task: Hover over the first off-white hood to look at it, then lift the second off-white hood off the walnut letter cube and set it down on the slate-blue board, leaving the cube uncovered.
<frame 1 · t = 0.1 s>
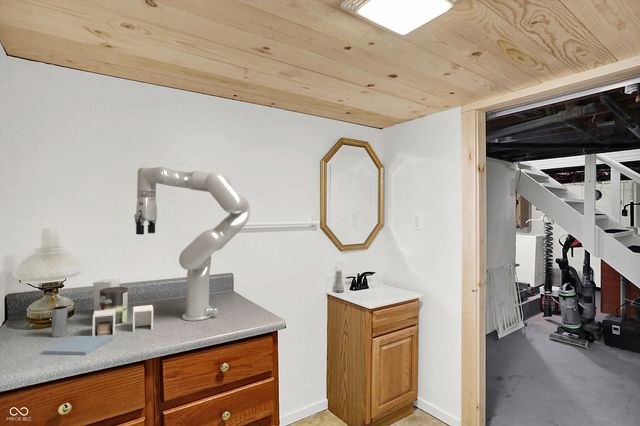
hand: (145, 233, 154), 37 cm above the counter, tool pointing down, fingers open, 9 cm apart
planter: (59, 335, 128), on the counter
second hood: (104, 333, 131), on the counter
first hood: (142, 327, 138), on the counter
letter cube: (104, 328, 131), in the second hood
coffee can: (113, 323, 143), on the counter
slate board: (79, 346, 118), on the counter
skincare box: (106, 315, 154), on the counter
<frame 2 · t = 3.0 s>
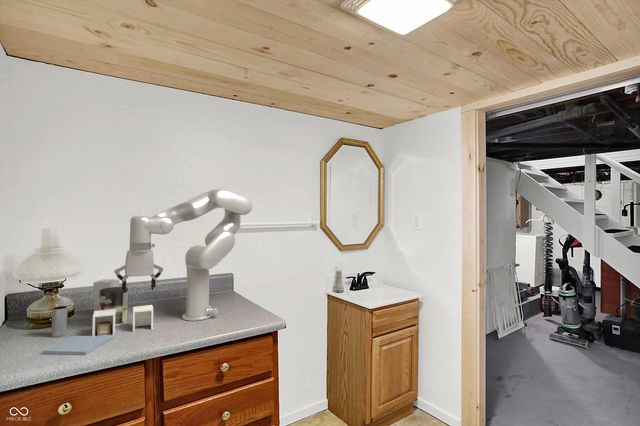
hand: (138, 290, 137), 15 cm above the counter, tool pointing down, fingers open, 9 cm apart
nothing on the counter moved.
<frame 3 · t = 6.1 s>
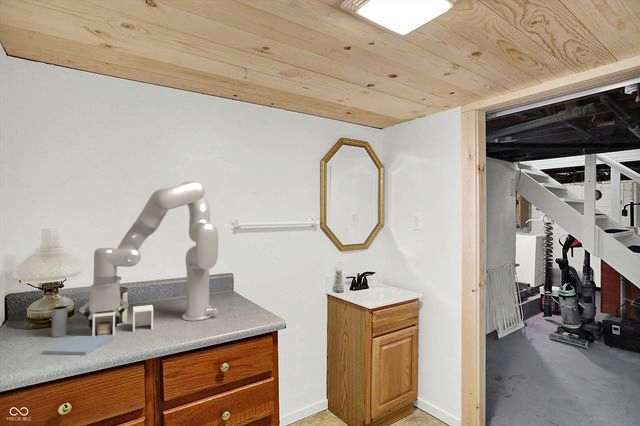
hand: (104, 327, 131), 2 cm above the counter, tool pointing down, fingers closed on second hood, 7 cm apart
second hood: (104, 333, 131), on the counter, touching gripper
everything else where it was.
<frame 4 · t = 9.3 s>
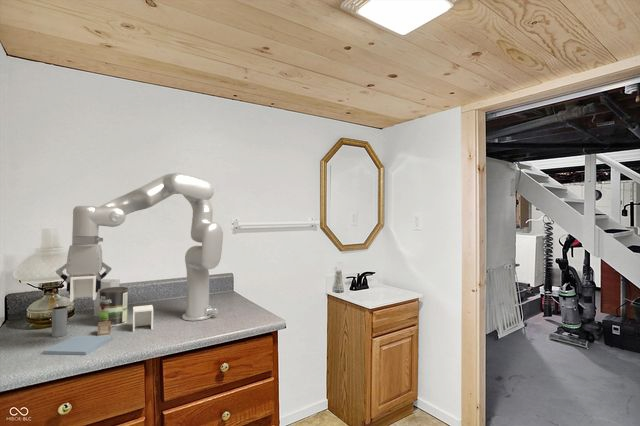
hand: (84, 292, 120), 18 cm above the counter, tool pointing down, fingers closed on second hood, 7 cm apart
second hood: (83, 298, 120), point 16 cm above the counter, touching gripper
everything else where it was.
when the fingers open (5 cm above the counter, at t = 12.6 s): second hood drops 1 cm, resting on slate board.
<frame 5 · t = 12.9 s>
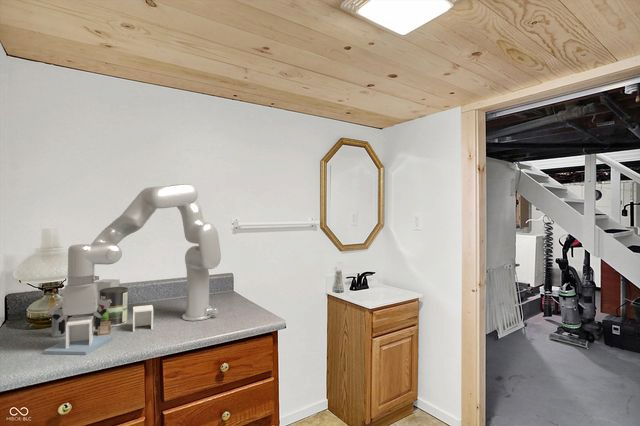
hand: (80, 330, 118), 5 cm above the counter, tool pointing down, fingers open, 9 cm apart
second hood: (79, 343, 118), point 1 cm above the counter, touching slate board
everything else where it was.
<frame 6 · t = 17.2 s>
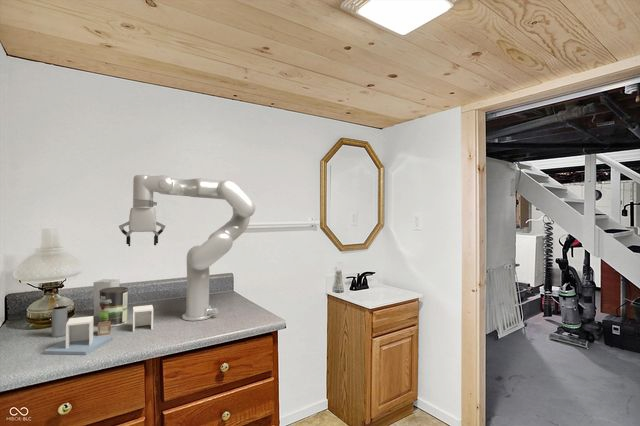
hand: (142, 245, 144), 32 cm above the counter, tool pointing down, fingers open, 9 cm apart
nothing on the counter moved.
at the end: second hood inside the target area on the slate board (0.0 cm from its centre), point 1.0 cm above the slate board's base; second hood tilted 0°; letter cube moved 0.1 cm from its start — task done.
